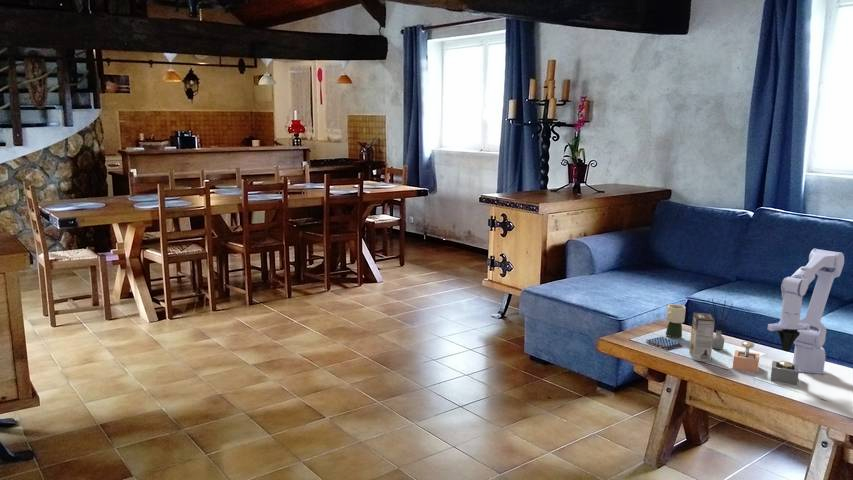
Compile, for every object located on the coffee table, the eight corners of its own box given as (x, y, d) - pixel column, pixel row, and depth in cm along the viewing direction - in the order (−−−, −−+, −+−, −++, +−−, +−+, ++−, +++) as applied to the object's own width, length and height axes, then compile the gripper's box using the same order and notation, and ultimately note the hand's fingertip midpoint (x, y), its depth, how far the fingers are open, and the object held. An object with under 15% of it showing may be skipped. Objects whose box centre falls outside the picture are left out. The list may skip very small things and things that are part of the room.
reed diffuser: (731, 350, 260) (736, 301, 257) (721, 354, 256) (727, 303, 253) (706, 343, 268) (711, 295, 265) (697, 346, 264) (702, 297, 261)
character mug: (674, 332, 282) (676, 302, 280) (689, 337, 276) (692, 306, 274) (658, 336, 276) (661, 305, 273) (673, 341, 270) (676, 310, 268)
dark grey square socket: (796, 378, 233) (798, 365, 232) (797, 385, 226) (798, 372, 225) (770, 373, 237) (772, 360, 236) (770, 380, 230) (772, 367, 229)
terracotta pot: (757, 366, 243) (759, 354, 243) (757, 373, 236) (758, 360, 236) (733, 362, 247) (735, 350, 246) (732, 368, 240) (734, 356, 239)
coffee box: (688, 352, 257) (692, 312, 254) (706, 354, 256) (710, 313, 253) (692, 360, 248) (697, 318, 245) (711, 362, 247) (715, 320, 244)
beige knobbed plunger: (791, 377, 232) (793, 362, 231) (791, 381, 228) (793, 366, 227) (776, 374, 234) (777, 359, 233) (775, 378, 230) (777, 363, 229)
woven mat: (661, 340, 272) (661, 335, 272) (683, 347, 264) (683, 343, 263) (643, 343, 267) (644, 339, 267) (666, 351, 258) (666, 346, 258)
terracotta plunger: (754, 357, 242) (755, 342, 241) (753, 360, 238) (755, 346, 237) (739, 354, 244) (741, 340, 243) (738, 358, 240) (740, 343, 239)
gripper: (801, 308, 233) (796, 346, 235) (763, 309, 230) (759, 346, 233) (816, 314, 226) (811, 352, 228) (777, 314, 224) (772, 353, 226)
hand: (785, 350), depth 230 cm, fingers closed
